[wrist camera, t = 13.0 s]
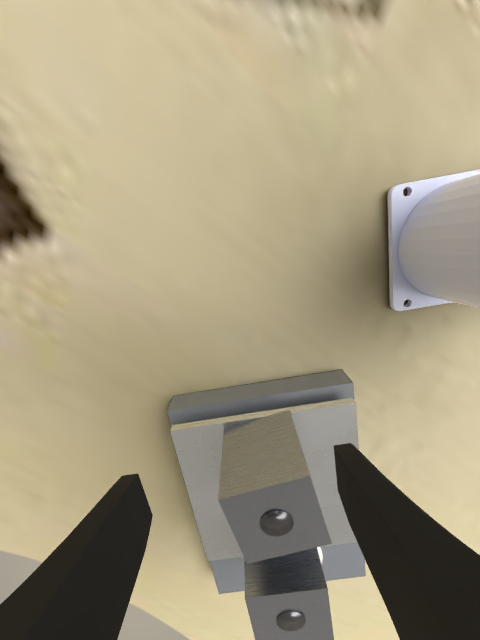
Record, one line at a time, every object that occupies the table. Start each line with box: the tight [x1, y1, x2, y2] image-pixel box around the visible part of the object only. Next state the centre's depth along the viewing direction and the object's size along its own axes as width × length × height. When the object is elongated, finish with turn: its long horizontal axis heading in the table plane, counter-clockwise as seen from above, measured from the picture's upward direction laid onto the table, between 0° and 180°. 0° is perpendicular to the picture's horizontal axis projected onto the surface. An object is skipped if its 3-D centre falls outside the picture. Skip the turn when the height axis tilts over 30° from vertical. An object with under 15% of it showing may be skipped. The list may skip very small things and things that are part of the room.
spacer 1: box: [218, 410, 332, 564], centre depth 15 cm, size 4×4×5 cm
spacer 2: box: [244, 547, 334, 640], centre depth 17 cm, size 4×4×5 cm
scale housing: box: [167, 370, 366, 594], centre depth 21 cm, size 13×19×2 cm
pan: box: [170, 398, 359, 561], centre depth 20 cm, size 12×12×3 cm
